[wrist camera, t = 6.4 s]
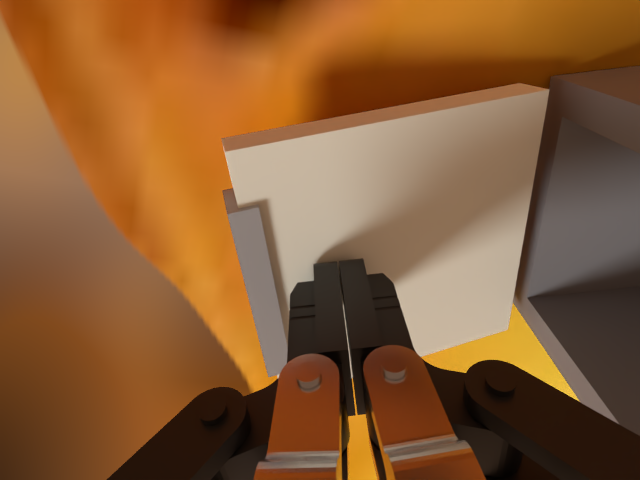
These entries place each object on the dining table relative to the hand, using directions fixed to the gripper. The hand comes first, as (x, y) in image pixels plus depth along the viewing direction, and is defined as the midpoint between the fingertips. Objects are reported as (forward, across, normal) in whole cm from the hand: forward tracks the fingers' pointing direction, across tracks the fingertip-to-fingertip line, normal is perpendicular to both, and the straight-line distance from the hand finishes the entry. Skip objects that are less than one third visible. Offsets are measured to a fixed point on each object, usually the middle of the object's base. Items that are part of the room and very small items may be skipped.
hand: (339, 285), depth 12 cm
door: (+2, -6, 0) cm, 7 cm away
